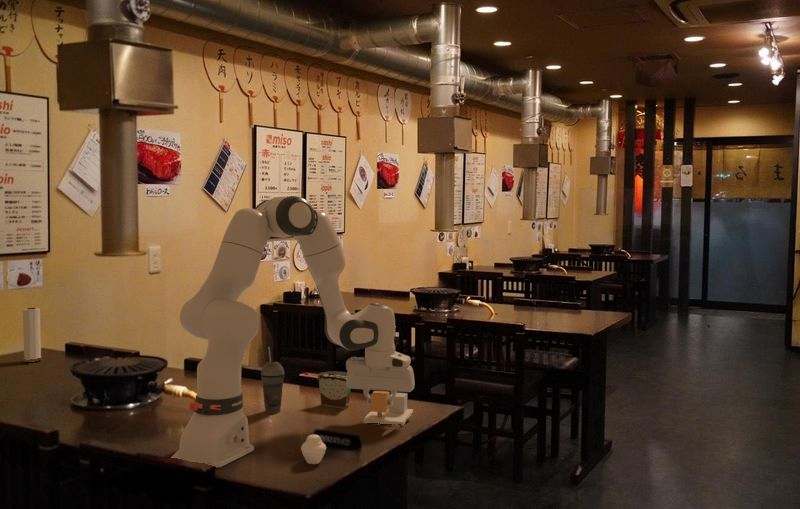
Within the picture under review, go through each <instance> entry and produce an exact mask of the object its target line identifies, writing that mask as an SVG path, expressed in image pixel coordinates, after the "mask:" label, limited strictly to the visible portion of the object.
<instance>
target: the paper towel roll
mask: <svg viewBox="0 0 800 509" xmlns="http://www.w3.org/2000/svg"><path fill="white" fill-rule="evenodd" d="M22 320H23V321H22V323H23V324H22V326H23V330H22V331H23V332H22V333H23V360H24V359H26V360H30V359H37V358H41V359H42V345H41V343H42V342H41V341H42V340H41V339H42V338H41V309H40V307H28V308H27V307H25V308H23V309H22Z"/></svg>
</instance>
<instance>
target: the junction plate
mask: <svg viewBox="0 0 800 509" xmlns="http://www.w3.org/2000/svg"><path fill="white" fill-rule="evenodd" d="M392 395H393V394H392ZM392 395H391V394H389V399H390V398H391V397H392ZM412 413H413V414H414V409H412V408H408V392H397V394H396V395H395V397H394V399H393V405H392V406H389V409H388V411H387V412H386V413H385V412H368V413H367V414H366V415H365V417H364V418H363V419H362V424H367V423H378V424H377V425H380V424H392V425H391V426H394V425H393V424H395V425H399V424H401V425H404V424H405V422H406V420H407V419H408V418H409V417H410V416H411V417H412V415H413V414H412ZM411 414H412V415H411ZM411 417H410V418H411ZM410 418H409V419H410ZM379 423H380V424H379ZM405 425H406V424H405ZM405 425H404V426H405Z"/></svg>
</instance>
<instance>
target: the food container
mask: <svg viewBox="0 0 800 509" xmlns="http://www.w3.org/2000/svg"><path fill="white" fill-rule="evenodd" d="M346 377H347V371H346V372H345V371H325V372H320V373H318V375H317V378H316V380H317V381H318V386H319V396H320V399H319V400H320V405H321V406H324V407H325V406H326V407H333V408H338V409H344V410H345V409H348V408H349V407H350V396H351V389H350V388H348V387H347V386H346Z"/></svg>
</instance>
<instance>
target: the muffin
mask: <svg viewBox="0 0 800 509" xmlns="http://www.w3.org/2000/svg"><path fill="white" fill-rule="evenodd" d="M300 451H301V453H302V456H303V457H304V459H305V461H306V463H307V464H309V465H317V464H320V463H321V461H322V460H323V458H324V456H325V454H326V451H327V446H326V444H325V443H324V442H323V440H322V437H321V436H320V435H318V434H314V433H313V434H310V435H308V436H307V437H306V438H305V441H304V442H303V443H302V444H301V446H300Z"/></svg>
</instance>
